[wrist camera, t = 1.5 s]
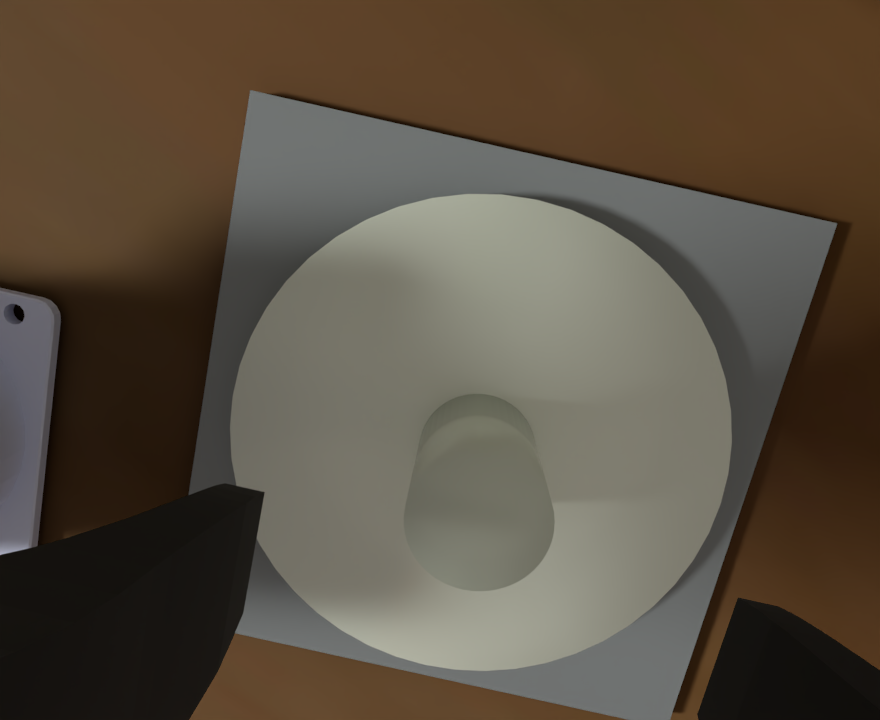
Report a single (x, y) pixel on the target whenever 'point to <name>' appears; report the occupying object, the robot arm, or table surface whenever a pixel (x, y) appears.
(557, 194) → the mat
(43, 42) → the table surface
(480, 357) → the lid
